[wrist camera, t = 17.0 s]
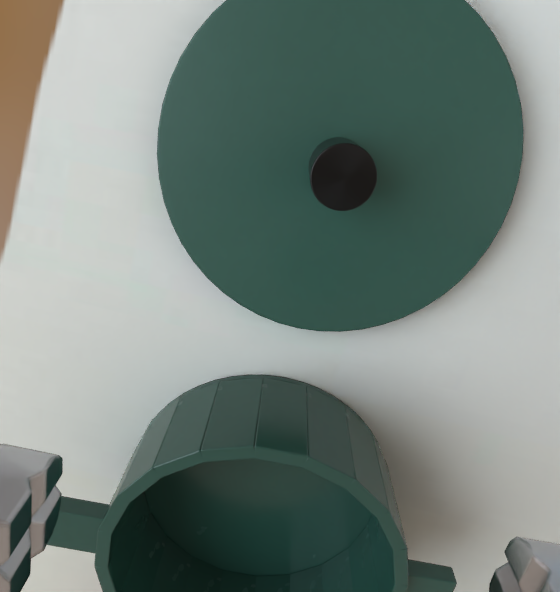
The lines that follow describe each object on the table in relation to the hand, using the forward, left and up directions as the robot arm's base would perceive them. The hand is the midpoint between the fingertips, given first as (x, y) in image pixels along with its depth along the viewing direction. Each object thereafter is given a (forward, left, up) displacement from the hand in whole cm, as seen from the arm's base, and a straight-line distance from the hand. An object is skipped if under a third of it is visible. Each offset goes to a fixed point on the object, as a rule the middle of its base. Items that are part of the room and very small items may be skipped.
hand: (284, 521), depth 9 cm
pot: (-13, +7, -18) cm, 23 cm away
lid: (+3, -3, -17) cm, 18 cm away
